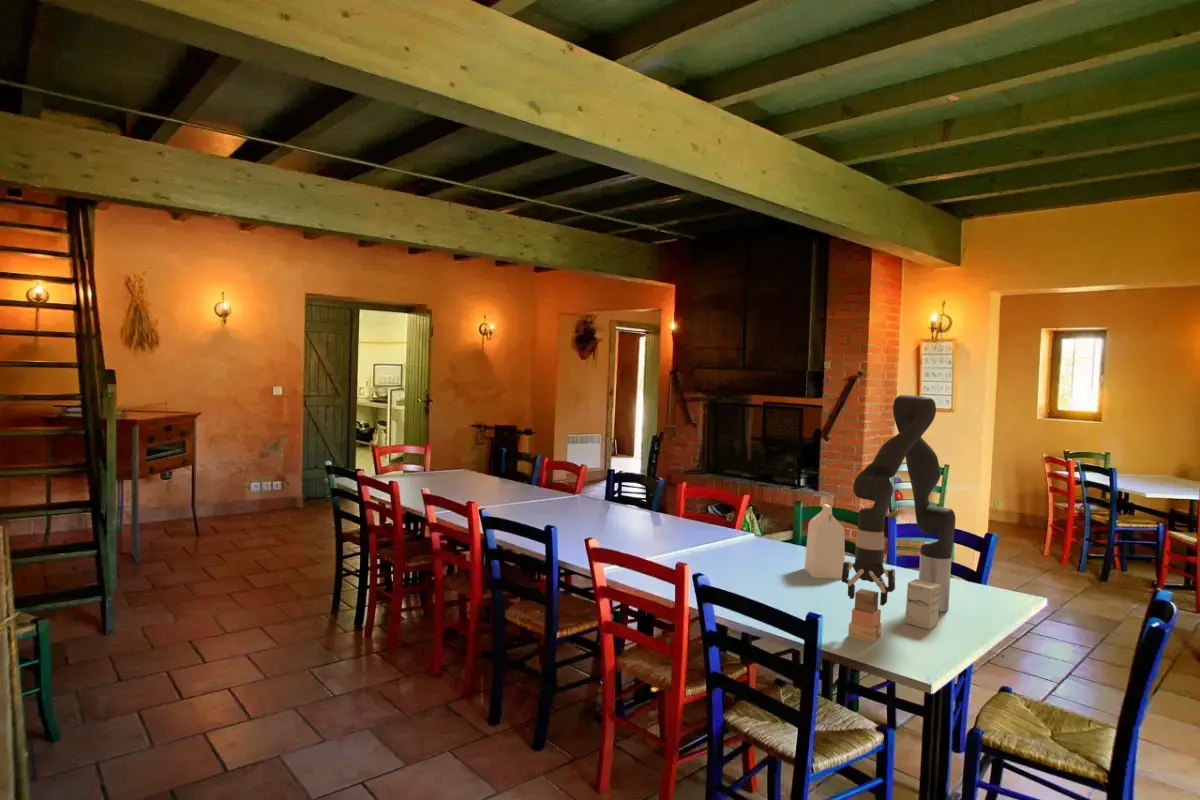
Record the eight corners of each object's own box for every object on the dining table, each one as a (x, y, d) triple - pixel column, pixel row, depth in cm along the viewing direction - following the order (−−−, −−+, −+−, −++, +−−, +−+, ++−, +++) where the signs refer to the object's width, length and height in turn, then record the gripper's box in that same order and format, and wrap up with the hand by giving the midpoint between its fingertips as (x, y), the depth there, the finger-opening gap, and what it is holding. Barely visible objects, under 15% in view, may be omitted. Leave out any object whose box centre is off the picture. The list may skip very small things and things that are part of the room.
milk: (844, 578, 258) (848, 509, 257) (813, 577, 258) (816, 507, 257) (834, 569, 270) (837, 503, 269) (804, 568, 270) (807, 502, 269)
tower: (859, 618, 204) (860, 604, 204) (880, 623, 200) (880, 609, 200) (851, 623, 199) (852, 609, 199) (872, 628, 195) (873, 614, 195)
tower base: (856, 630, 205) (856, 617, 205) (880, 636, 200) (881, 623, 200) (848, 637, 199) (849, 623, 199) (873, 643, 195) (874, 629, 195)
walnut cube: (859, 605, 203) (860, 588, 203) (877, 609, 200) (878, 592, 200) (854, 609, 199) (855, 592, 199) (872, 613, 196) (873, 596, 196)
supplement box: (904, 623, 212) (906, 582, 211) (913, 618, 217) (916, 578, 217) (929, 630, 207) (931, 588, 206) (938, 624, 212) (941, 583, 211)
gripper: (899, 547, 197) (896, 604, 198) (848, 539, 206) (846, 593, 206) (892, 552, 191) (889, 610, 192) (840, 543, 200) (837, 599, 200)
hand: (866, 601), depth 199 cm, fingers open, 8 cm apart
